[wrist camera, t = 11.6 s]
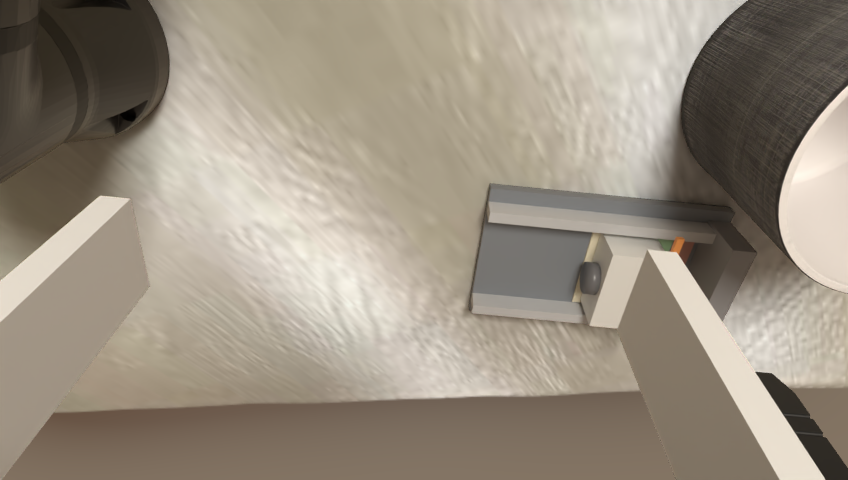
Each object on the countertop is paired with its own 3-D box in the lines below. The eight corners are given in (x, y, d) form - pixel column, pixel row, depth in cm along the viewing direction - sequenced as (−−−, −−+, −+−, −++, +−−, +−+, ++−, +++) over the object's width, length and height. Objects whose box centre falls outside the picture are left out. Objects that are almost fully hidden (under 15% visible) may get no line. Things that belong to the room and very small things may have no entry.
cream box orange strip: (564, 317, 55) (573, 349, 51) (598, 205, 48) (611, 232, 44) (623, 322, 55) (637, 355, 51) (665, 212, 48) (684, 239, 44)
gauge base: (468, 304, 56) (471, 344, 51) (490, 183, 49) (495, 216, 44) (677, 323, 57) (700, 365, 52) (729, 207, 49) (762, 242, 44)
